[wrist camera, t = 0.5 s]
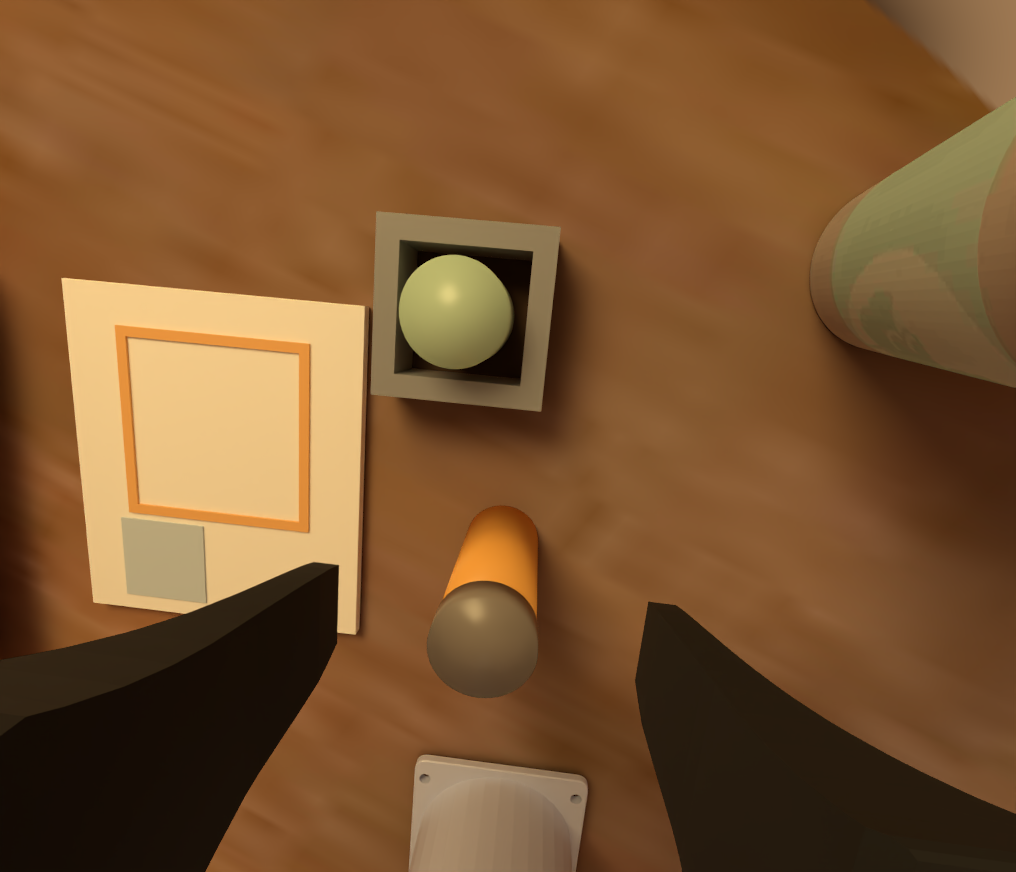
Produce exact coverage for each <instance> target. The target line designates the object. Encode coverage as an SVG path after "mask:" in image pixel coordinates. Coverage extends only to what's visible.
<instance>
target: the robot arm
mask: <svg viewBox="0 0 1016 872" xmlns="http://www.w3.org/2000/svg"><path fill="white" fill-rule="evenodd" d="M338 587H339V565H335V564H327V563H319V562H312V563H309V564H306V565H303V566H300V567H298V568H295V569H293V570H290V571H288V572H286V573H283V574H281V575H279V576H276V577H274V578H272V579H270V580H267V581H265V582H263V583H260V584H258V585H256V586H254V587H251V588H249V589H247V590H244V591H242V592H240V593H237V594H235V595H232V596H230V597H227V598H225V599H222V600H220V601H217V602H215V603H212V604H210V605H207V606H205V607H202V608H200V609H197V610H194V611H192V612H189V613H186V614H184V615H181V616H178V617H175V618H172V619H169V620H166V621H163V622H160V623H156V624H153V625H150V626H147V627H143V628H140V629H137V630H133V631H130V632H126V633H123V634H119V635H115V636H111V637H106V638H102V639H98V640H94V641H90V642H86V643H82V644H78V645H74V646H70V647H66V648H61V649H56V650H51V651H46V652H41V653H36V654H31V655H26V656H20V657H15V658H9V659H3V660H0V872H205V871H206V869H207V867H208V865H209V863H210V861H211V859H212V857H213V855H214V853H215V852H216V850H217V848H218V846H219V844H220V842H221V840H222V838H223V836H224V834H225V833H226V831H227V829H228V827H229V825H230V823H231V821H232V819H233V818H234V816H235V814H236V812H237V810H238V808H239V806H240V805H241V803H242V801H243V799H244V797H245V795H246V794H247V792H248V790H249V789H250V787H251V785H252V784H253V782H254V780H255V779H256V777H257V775H258V774H259V772H260V771H261V769H262V768H263V766H264V765H265V763H266V762H267V760H268V759H269V757H270V755H271V754H272V752H273V751H274V749H275V748H276V746H277V745H278V743H279V742H280V740H281V739H282V737H283V736H284V734H285V733H286V731H287V730H288V728H289V727H290V725H291V724H292V722H293V721H294V719H295V718H296V716H297V714H298V713H299V711H300V710H301V708H302V707H303V705H304V704H305V702H306V701H307V699H308V697H309V696H310V694H311V693H312V691H313V690H314V688H315V687H316V685H317V683H318V682H319V680H320V678H321V676H322V674H323V672H324V670H325V668H326V666H327V664H328V661H329V659H330V657H331V655H332V653H333V651H334V648H335V646H336V644H337V625H338ZM635 683H636V690H637V696H638V703H639V709H640V715H641V721H642V726H643V730H644V733H645V737H646V740H647V744H648V747H649V751H650V754H651V758H652V761H653V765H654V768H655V772H656V775H657V778H658V782H659V785H660V789H661V792H662V795H663V799H664V802H665V806H666V809H667V812H668V816H669V819H670V823H671V826H672V829H673V833H674V837H675V841H676V845H677V849H678V853H679V857H680V862H681V867H682V872H1016V814H1014V813H1012V812H1010V811H1007V810H1005V809H1002V808H1000V807H998V806H995V805H993V804H990V803H988V802H985V801H983V800H981V799H978V798H976V797H974V796H972V795H969V794H967V793H965V792H963V791H961V790H959V789H956V788H954V787H952V786H950V785H948V784H946V783H944V782H942V781H940V780H937V779H935V778H933V777H931V776H929V775H927V774H925V773H923V772H921V771H919V770H917V769H915V768H913V767H911V766H909V765H907V764H905V763H903V762H901V761H899V760H897V759H895V758H893V757H891V756H889V755H887V754H886V753H884V752H882V751H880V750H878V749H877V748H875V747H873V746H871V745H869V744H868V743H866V742H864V741H862V740H860V739H859V738H857V737H855V736H853V735H851V734H850V733H848V732H846V731H845V730H843V729H841V728H840V727H838V726H836V725H835V724H833V723H831V722H830V721H828V720H826V719H825V718H823V717H822V716H820V715H819V714H817V713H816V712H814V711H812V710H811V709H809V708H808V707H806V706H805V705H803V704H802V703H800V702H799V701H797V700H796V699H794V698H793V697H791V696H790V695H788V694H787V693H785V692H784V691H783V690H781V689H780V688H778V687H777V686H776V685H774V684H773V683H772V682H770V681H769V680H768V679H766V678H765V677H764V676H762V675H761V674H760V673H758V672H757V671H756V670H754V669H753V668H752V667H751V666H749V665H748V664H747V663H745V662H744V661H743V660H742V659H740V658H739V657H738V656H737V655H736V654H734V653H733V652H732V651H731V650H729V649H728V648H727V647H726V646H725V645H723V644H722V643H721V642H720V641H719V640H718V639H716V638H715V637H714V636H713V635H712V634H711V633H709V632H708V631H707V630H706V629H705V628H703V627H702V626H701V625H700V624H699V623H698V622H696V621H695V620H694V619H693V618H692V617H690V616H689V615H688V614H687V613H686V612H684V611H683V610H682V609H680V608H679V607H678V606H676V605H670V604H662V603H653V602H648V608H647V614H646V619H645V625H644V631H643V637H642V643H641V649H640V655H639V661H638V667H637V673H636V679H635ZM423 774H426V775H428V776H425V775H423ZM573 795H578V796H573ZM587 795H588V784H587V780H586V779H585V778H584V777H583V776H581V775H577V774H570V773H562V772H555V771H547V770H540V769H532V768H525V767H517V766H510V765H502V764H495V763H487V762H480V761H472V760H465V759H457V758H450V757H442V756H435V755H422V756H420V757H419V758H418V759H417V763H416V766H415V777H414V793H413V810H412V826H411V842H410V858H409V872H576V866H577V860H578V853H579V847H580V840H581V834H582V827H583V821H584V814H585V808H586V801H587Z"/></svg>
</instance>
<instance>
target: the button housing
mask: <svg viewBox="0 0 1016 872" xmlns="http://www.w3.org/2000/svg"><path fill="white" fill-rule="evenodd" d="M560 231H561V227H555V226H543V225H531V224H519V223H507V222H496V221H484V220H472V219H460V218H448V217H437V216H425V215H413V214H401V213H389V212H378V211H376V239H375V271H374V302H373V333H372V365H371V394H372V395H382V396H392V397H402V398H411V399H421V400H431V401H441V402H451V403H461V404H471V405H481V406H490V407H500V408H510V409H520V410H530V411H540V412H541V408H542V398H543V389H544V380H545V370H546V361H547V352H548V342H549V333H550V324H551V314H552V305H553V296H554V287H555V277H556V268H557V259H558V249H559V240H560ZM418 251H424V252H436V253H447V254H458V255H470V256H481V257H493V258H504V259H515V260H527V261H532V271H531V281H530V291H529V301H528V312H527V322H526V332H525V343H524V353H523V363H522V374H521V379H518V378H508V377H498V376H487V375H477V374H467V373H457V372H447V371H437V370H427V369H416V368H412V361H413V349H412V347H411V346H410V345H409V343H408V342H407V340H406V338H405V336H404V334H403V331H402V328H401V325H400V319H399V302H400V297H401V293H402V291H403V288H404V286H405V284H406V282H407V280H408V279H409V277H410V276H411V275H412V273H413V272H414V271H415V270H416V269H417V260H418Z"/></svg>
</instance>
